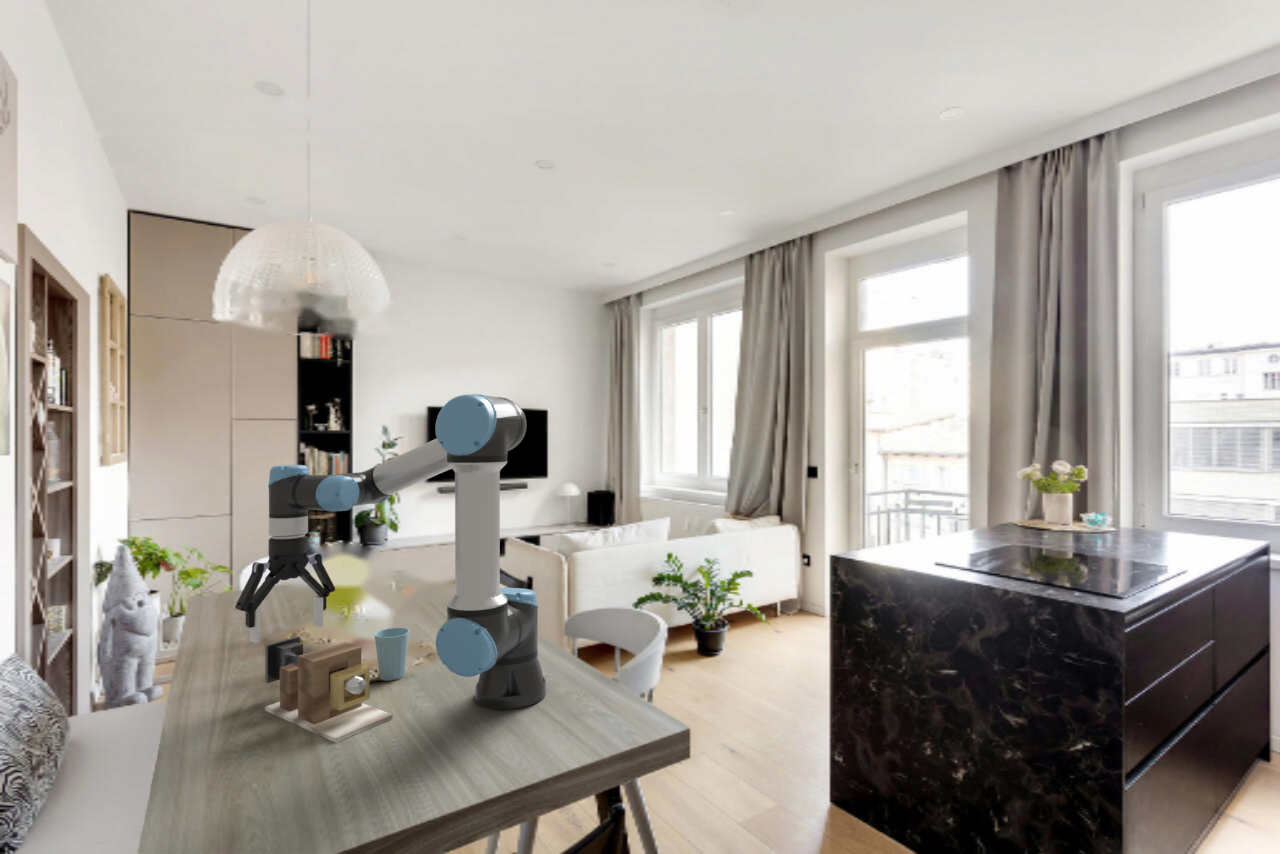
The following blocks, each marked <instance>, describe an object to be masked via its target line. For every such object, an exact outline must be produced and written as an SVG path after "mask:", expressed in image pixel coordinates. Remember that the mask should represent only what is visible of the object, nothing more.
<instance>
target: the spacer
mask: <svg viewBox="0 0 1280 854" xmlns="http://www.w3.org/2000/svg"><path fill="white" fill-rule="evenodd" d="M356 676H357V677H360V678H363V679H364V680H365V681H366V687H365V689H364V691H363V692H362V693H360V694H358V695H356V694H351V695H348V696H345V697H344V681H345V680H348V679H351V678H354V677H356ZM368 700H370V667H369V666H368V665H365V664H362V663H361V664H360V665H357V666H353V667H350V668H347V669H344V670H341V671H338V672H335V673H332V674H330V707H331V708H334V709H336V710H339V711H340V710H342V709H345V708H348V707H350V706H353V705H355V704H358V703H361V702H362V703H363V702H365V701H368Z"/></svg>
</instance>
